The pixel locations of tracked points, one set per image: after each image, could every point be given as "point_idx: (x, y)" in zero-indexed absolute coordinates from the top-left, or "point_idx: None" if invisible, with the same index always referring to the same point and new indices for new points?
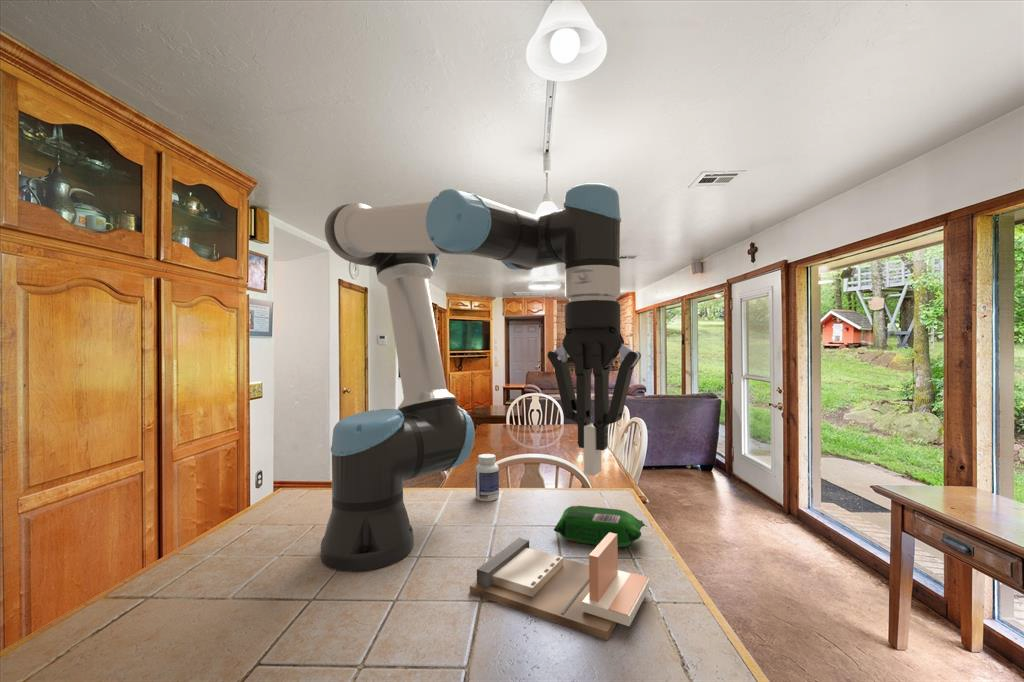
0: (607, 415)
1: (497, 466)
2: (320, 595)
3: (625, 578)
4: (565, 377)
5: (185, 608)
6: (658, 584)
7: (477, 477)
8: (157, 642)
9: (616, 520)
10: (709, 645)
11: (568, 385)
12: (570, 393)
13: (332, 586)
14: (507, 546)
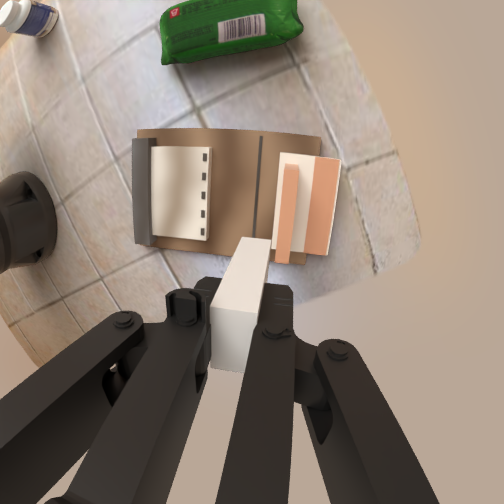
0: (298, 400)
1: (26, 4)
2: (60, 292)
3: (310, 173)
4: (46, 480)
5: (33, 326)
6: (344, 125)
7: (17, 33)
8: (54, 350)
9: (261, 29)
10: (398, 230)
11: (65, 448)
12: (87, 419)
13: (55, 279)
14: (132, 171)
